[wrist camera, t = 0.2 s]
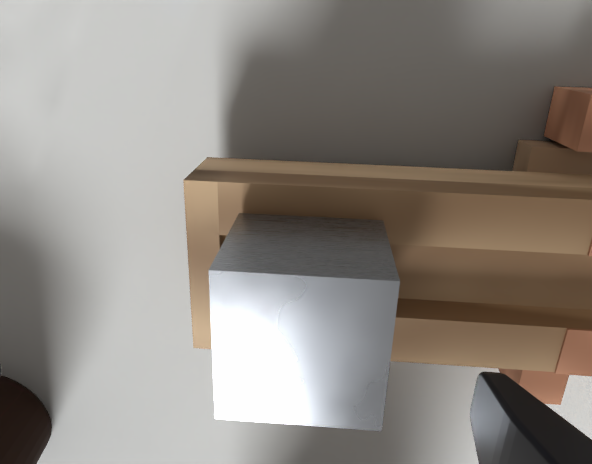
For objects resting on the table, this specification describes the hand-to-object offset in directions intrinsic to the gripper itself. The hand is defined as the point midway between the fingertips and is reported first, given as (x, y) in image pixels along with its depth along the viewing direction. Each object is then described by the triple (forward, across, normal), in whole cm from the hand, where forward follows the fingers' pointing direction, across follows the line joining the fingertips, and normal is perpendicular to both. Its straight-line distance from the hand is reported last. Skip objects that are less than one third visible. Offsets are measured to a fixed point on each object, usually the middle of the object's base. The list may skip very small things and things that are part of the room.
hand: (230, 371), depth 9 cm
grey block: (+10, -1, +2) cm, 10 cm away
